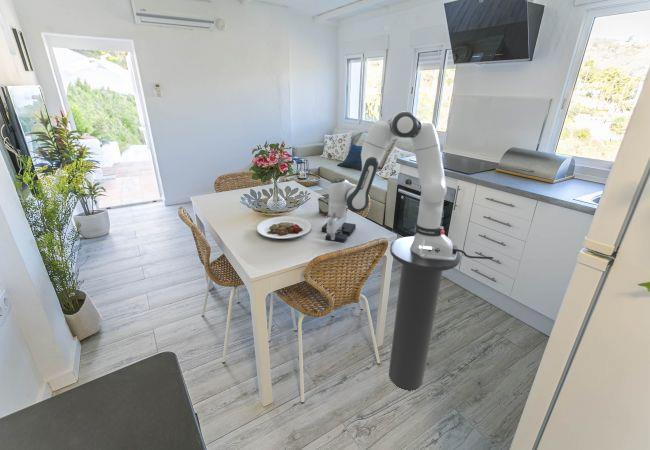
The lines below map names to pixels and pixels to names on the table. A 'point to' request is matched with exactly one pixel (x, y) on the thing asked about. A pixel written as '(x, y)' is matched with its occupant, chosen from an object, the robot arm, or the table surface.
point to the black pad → (343, 228)
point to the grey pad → (337, 237)
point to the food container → (323, 206)
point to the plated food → (284, 227)
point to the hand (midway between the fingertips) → (336, 235)
